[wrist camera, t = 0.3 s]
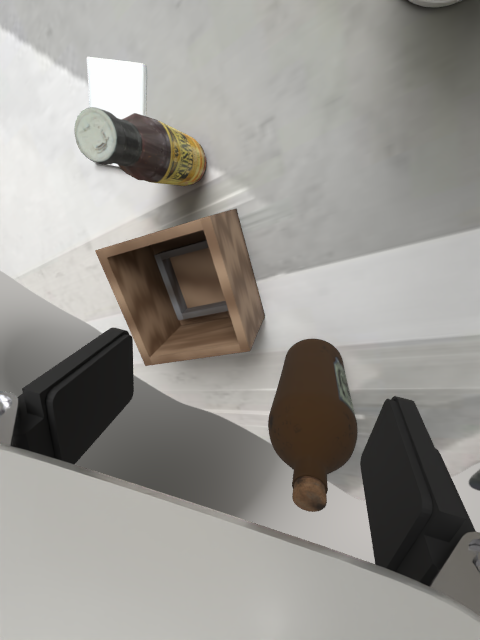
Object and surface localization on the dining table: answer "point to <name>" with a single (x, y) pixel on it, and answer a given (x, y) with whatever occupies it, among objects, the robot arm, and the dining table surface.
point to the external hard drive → (117, 87)
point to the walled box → (187, 290)
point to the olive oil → (312, 419)
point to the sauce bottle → (140, 147)
